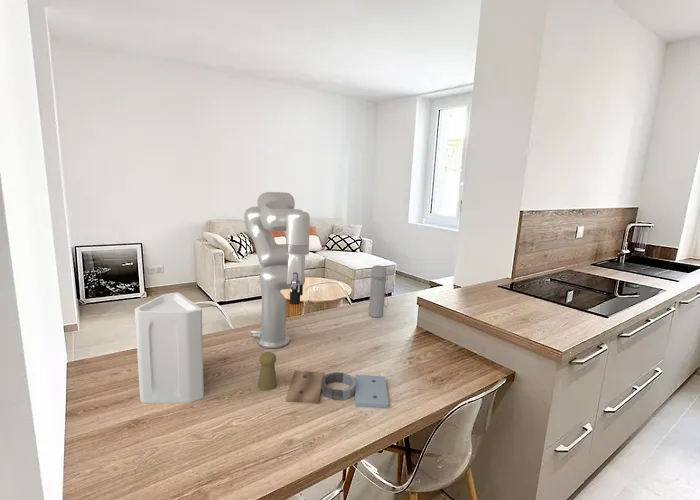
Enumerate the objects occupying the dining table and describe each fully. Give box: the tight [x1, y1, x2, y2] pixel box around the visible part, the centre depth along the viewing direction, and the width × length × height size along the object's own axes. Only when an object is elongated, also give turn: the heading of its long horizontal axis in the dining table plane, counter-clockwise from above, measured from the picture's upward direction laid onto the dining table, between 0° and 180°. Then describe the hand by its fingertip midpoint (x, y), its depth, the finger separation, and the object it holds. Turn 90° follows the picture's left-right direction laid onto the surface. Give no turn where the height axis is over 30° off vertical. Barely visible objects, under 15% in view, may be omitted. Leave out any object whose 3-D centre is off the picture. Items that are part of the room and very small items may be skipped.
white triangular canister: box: [134, 291, 205, 404], centre depth 112 cm, size 19×15×28 cm
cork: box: [257, 351, 278, 392], centre depth 120 cm, size 6×6×11 cm
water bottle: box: [368, 264, 389, 318], centre depth 184 cm, size 9×8×25 cm
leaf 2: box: [341, 372, 389, 409], centre depth 120 cm, size 14×16×3 cm
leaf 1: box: [285, 370, 345, 405], centre depth 120 cm, size 17×16×3 cm
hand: (296, 299), depth 125 cm, fingers open, 9 cm apart
